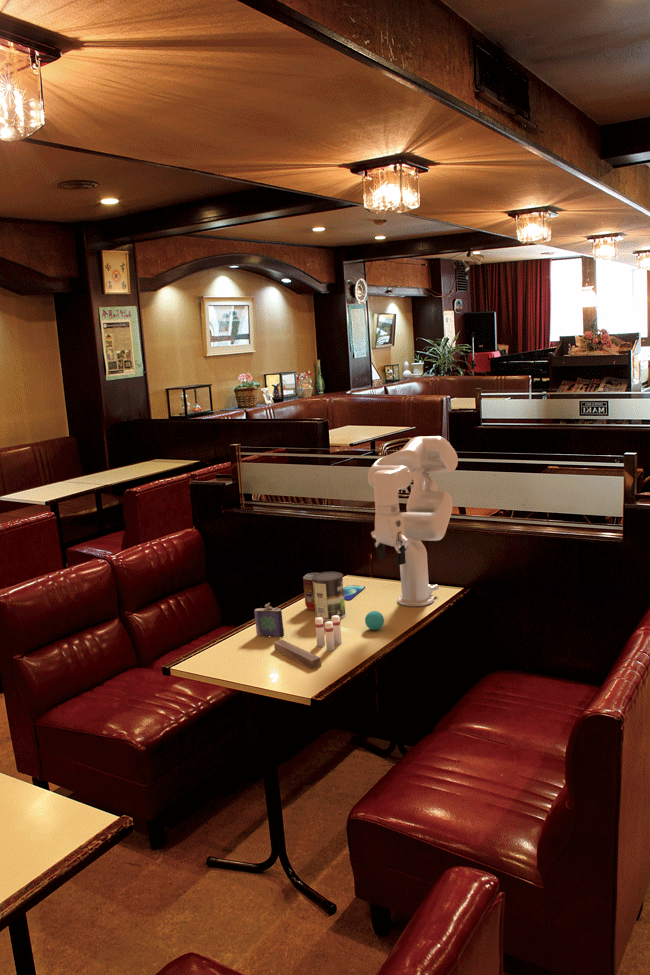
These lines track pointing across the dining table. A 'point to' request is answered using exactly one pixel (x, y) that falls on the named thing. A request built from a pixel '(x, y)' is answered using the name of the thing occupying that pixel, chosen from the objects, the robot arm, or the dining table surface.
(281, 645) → the back wall
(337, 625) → the front pin
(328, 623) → the back pin left
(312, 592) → the soda can
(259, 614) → the flask
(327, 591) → the coffee can
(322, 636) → the back pin right
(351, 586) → the smartphone
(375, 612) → the ball
